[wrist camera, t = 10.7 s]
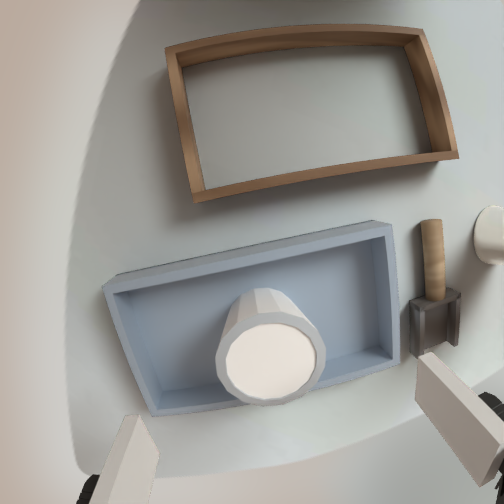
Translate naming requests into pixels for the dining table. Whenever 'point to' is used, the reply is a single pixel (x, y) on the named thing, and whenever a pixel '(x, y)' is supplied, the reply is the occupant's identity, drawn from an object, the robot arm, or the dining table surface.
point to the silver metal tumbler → (490, 235)
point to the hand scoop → (434, 297)
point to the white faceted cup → (268, 349)
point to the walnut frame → (302, 38)
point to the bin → (245, 279)
